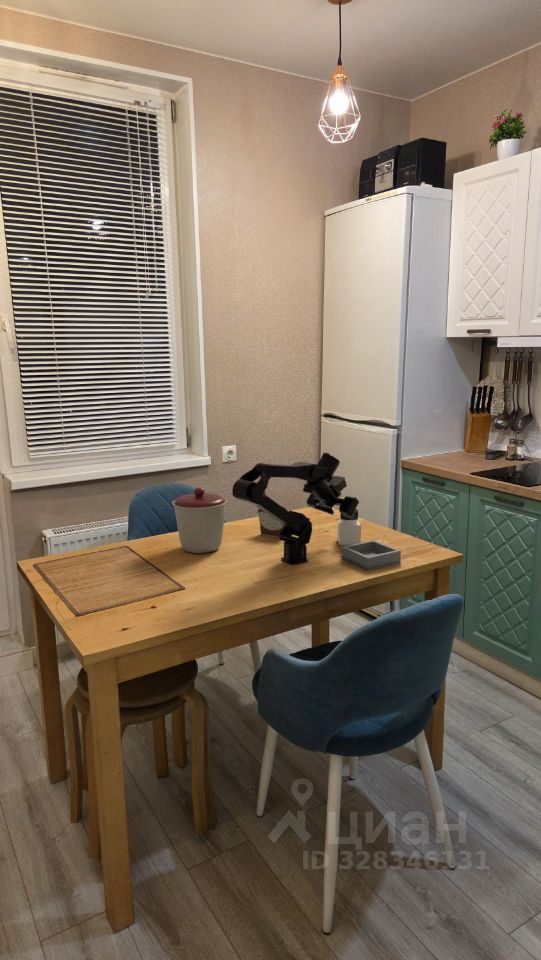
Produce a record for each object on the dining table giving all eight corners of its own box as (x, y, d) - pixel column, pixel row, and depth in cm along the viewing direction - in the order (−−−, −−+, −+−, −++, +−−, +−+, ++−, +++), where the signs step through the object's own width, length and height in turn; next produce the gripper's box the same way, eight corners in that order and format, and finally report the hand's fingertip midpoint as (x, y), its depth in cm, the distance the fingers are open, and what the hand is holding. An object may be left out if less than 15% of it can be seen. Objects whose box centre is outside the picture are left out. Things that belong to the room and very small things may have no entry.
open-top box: (367, 570, 185) (367, 558, 184) (341, 558, 196) (341, 546, 196) (400, 563, 192) (400, 550, 191) (373, 551, 203) (373, 540, 202)
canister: (166, 556, 201) (163, 493, 197) (184, 539, 218) (181, 481, 214) (220, 558, 198) (218, 494, 194) (233, 541, 215) (232, 482, 211)
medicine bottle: (360, 545, 209) (361, 511, 207) (339, 545, 210) (339, 511, 207) (358, 539, 216) (358, 506, 214) (337, 539, 217) (337, 506, 214)
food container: (295, 534, 223) (295, 507, 221) (286, 538, 218) (286, 511, 216) (266, 529, 230) (266, 503, 228) (257, 533, 224) (256, 507, 222)
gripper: (355, 473, 195) (376, 501, 205) (312, 466, 209) (333, 492, 218) (339, 502, 192) (361, 528, 201) (296, 492, 205) (318, 518, 215)
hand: (343, 515), depth 209 cm, fingers open, 9 cm apart
